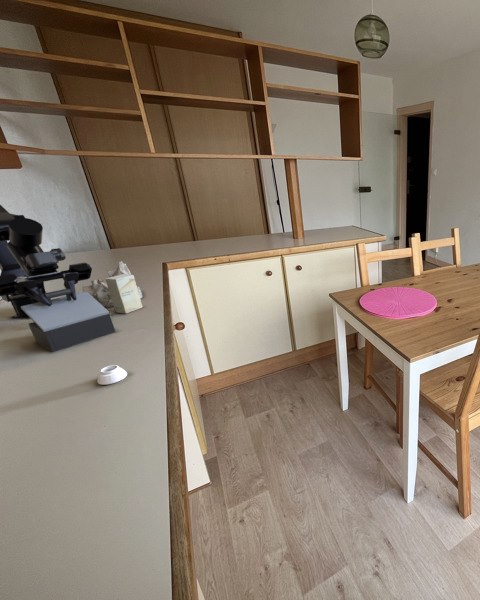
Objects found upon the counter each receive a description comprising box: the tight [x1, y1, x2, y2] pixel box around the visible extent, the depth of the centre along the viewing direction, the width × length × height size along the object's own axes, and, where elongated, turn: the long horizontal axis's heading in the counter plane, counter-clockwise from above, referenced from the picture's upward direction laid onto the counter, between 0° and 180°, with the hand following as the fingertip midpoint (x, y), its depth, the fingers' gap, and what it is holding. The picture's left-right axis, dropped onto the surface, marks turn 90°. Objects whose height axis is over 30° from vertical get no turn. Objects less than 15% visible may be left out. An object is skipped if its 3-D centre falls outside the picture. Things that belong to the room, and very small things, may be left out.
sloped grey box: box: [28, 313, 116, 353], centre depth 89 cm, size 11×14×6 cm
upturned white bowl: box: [96, 364, 128, 386], centre depth 71 cm, size 5×3×5 cm
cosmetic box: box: [104, 274, 144, 314], centre depth 106 cm, size 6×4×12 cm
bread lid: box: [21, 288, 110, 332], centre depth 86 cm, size 11×14×5 cm
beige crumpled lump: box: [81, 261, 143, 308], centre depth 114 cm, size 16×16×15 cm
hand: (62, 302), depth 86 cm, fingers closed on bread lid, 5 cm apart
